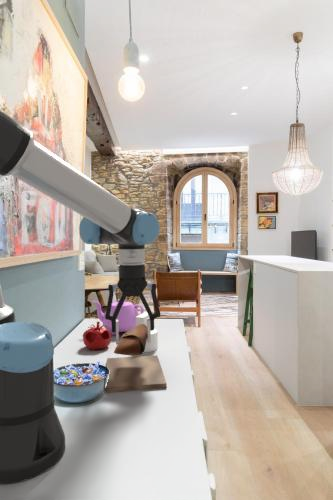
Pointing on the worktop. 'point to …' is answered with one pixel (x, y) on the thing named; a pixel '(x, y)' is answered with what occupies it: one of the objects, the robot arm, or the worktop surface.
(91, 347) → the pomegranate
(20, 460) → the robot arm
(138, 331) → the sunglasses case
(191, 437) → the worktop surface
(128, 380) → the walnut board
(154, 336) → the base with upright slab
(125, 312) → the teapot
